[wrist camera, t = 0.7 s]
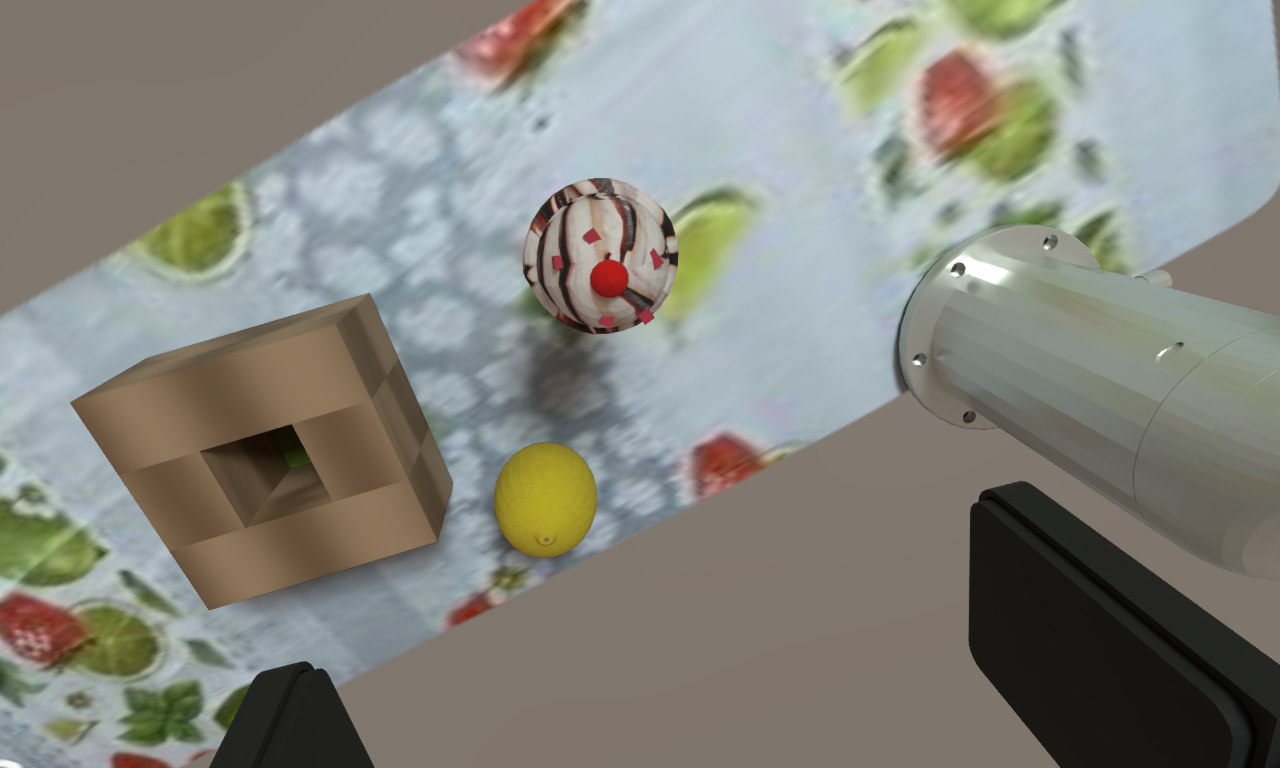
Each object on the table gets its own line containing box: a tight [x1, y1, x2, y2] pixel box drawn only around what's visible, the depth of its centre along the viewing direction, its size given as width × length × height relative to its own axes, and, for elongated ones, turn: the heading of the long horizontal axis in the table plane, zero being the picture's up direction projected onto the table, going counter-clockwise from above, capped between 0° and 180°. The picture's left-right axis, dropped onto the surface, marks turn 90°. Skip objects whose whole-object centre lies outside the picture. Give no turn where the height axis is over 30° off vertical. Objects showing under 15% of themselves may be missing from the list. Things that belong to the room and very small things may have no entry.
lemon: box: [494, 442, 597, 558], centre depth 36 cm, size 6×6×8 cm
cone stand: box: [70, 293, 453, 610], centre depth 34 cm, size 12×12×6 cm
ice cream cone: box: [523, 178, 678, 334], centre depth 28 cm, size 6×6×15 cm
